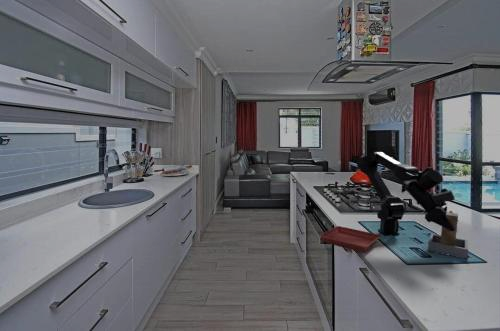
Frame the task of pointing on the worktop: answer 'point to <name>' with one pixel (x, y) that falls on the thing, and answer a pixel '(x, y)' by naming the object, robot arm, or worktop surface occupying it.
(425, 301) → the worktop surface
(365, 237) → the plant saucer
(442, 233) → the handle block
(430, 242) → the box
